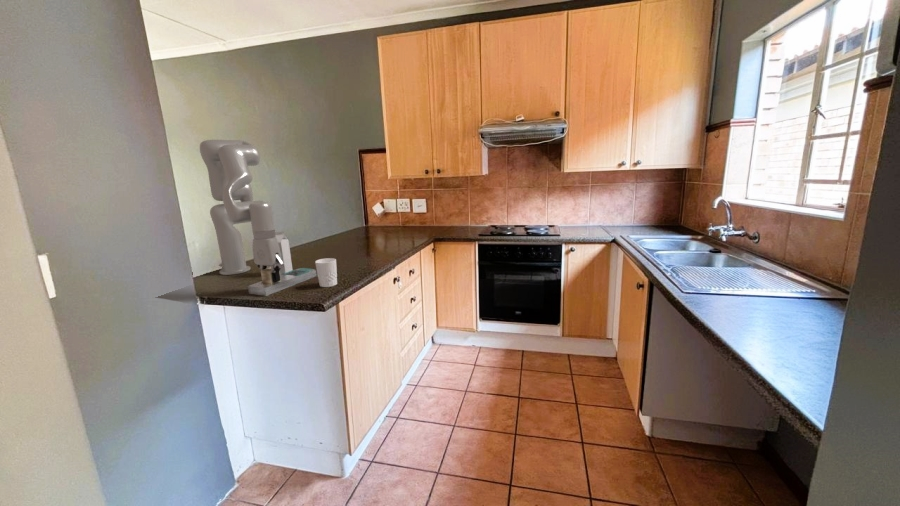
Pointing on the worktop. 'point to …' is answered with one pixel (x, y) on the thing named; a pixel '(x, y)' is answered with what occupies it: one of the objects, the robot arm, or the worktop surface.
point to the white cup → (326, 272)
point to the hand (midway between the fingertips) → (271, 280)
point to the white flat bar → (283, 281)
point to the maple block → (267, 276)
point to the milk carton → (284, 252)
